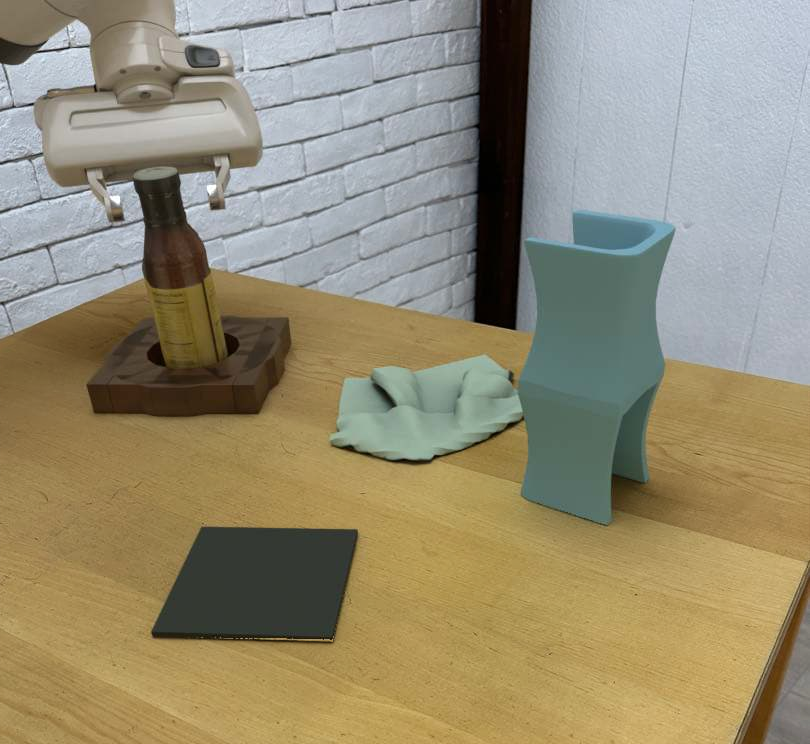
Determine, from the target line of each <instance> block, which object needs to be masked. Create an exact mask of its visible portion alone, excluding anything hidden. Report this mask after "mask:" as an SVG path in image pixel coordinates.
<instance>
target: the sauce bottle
mask: <svg viewBox="0 0 810 744" xmlns="http://www.w3.org/2000/svg"><path fill="white" fill-rule="evenodd" d="M132 183H133V187H134V191H135V193H136V194H137V195H138V199H139V203H140V208H141V211H142V216H143V218H142V220H143V224H144V232H143V233H144V235H143V236H144V237H143V239H144V240H143V254H142V255H143V257H142V263H141V272H142V275H143V280H144V283H145V287H146V291H147V295H148V299H149V304H150V307H151V311H152V315H153V318H154V320H155V324H156V328H157V332H158V337H159V340H160V344H161V349H162V353H163V357H164V361H165V365H166V367H167V368H194V367H201V366H207V365H210V364H213V363H216V362H219V361H222V360H225V359H226V358H227V355H228V352H227V347H226V343H225V338H224V332H223V328H222V324H221V318H220V316H221V314H220V309H219V304H218V299H217V293H216V289H215V284H214V280H213V275H212V269H211V268H210V265H209V261H208V260H209V259H208V255H207V249H206V246H205V244H204V241H203V240H202V239H201V237H200V235H199V232H198V231H196V230H195V229H194V228H193V227H192V226H191V224H190V223H189V222H188V218H187V212H186V210H185V207H184V201H183V198H182V193H181V186H182V180H181V177H180V175H179V172H178V170H177V169H176V168H173V167H162V166H161V167H153V168H147V169H143V170H140V171H137V172H136V173H135V174H134V175H133V180H132Z"/></svg>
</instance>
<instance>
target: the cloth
mask: <svg viewBox="0 0 810 744" xmlns="http://www.w3.org/2000/svg"><path fill="white" fill-rule="evenodd" d="M514 378H515V372H513V371H512V370H510V369H505V368H503V367H502V366H500V365H499V364H498V363H497V362H496V361H494V360H493V359H492V358H491V357H490V356H488V355H487V354H482V355H478V356H472V357H469V358H464V359H461V360H457V361H453V362H448V363H444V364H440V365H436V366H433V367H428V368H424V369H420V370H415V371H411V370H410V369H409V368H407V367H399V366H391V365H389V366H387V365H386V366H381V367H374V368H372V369H371V374H370V377H345V378H344V381H343V385H342V389H341V392H340V393H341V395H340V399H339V406H338V416H337V419H336V423H335V424H336V427H337V429H338V432H334V433H331V434H330V438H329V442H330V443H331V445H332V446H334V447H337V448H340V449H341V448H343V449H350V450H352V451H354V452H358V453H361V454H366V453H368V454H370V455H371V456H373V457H377V458H380V459H383V460H385V461H398V460H402V459H404V460H405V459H406V460H410V461H414V462H426V461H427V462H430V461H431V460H432V459H433V457H434V456H445V455H448V454H450V453H454V452H457V451H461V450H464V449H467V448H469V447H471V446H473V445H475V443H477V442H478V443H479V442H482V441H485V440H487V439H488V438H490V436H491V435H493V434H495V433H499V432H502V431H504V430H505V429H507V427H508V426H509V425H511V424H514V423H516V422H520V421H521V420H522V419H524V415H523V411H522V407H521V403H520V400H519V396H518V388H517V389H516V388H515V386H514V385H513V384H512V382H511V381H513V379H514Z"/></svg>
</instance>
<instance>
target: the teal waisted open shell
mask: <svg viewBox="0 0 810 744" xmlns="http://www.w3.org/2000/svg"><path fill="white" fill-rule="evenodd" d="M571 216H572V217H571V218H572V220H571V221H572V222H571V223H572V234H573V235H572V236H573V243H568V242H562V241H557V240H549V239H545V238H544V239H543V238H537V237H532V236H529V237H528V238H526V239H524V240H523V243H524V247H525V252H526V255H527V259H528V262H529V265H530V270H531V274H532V278H533V285H534V290H535V296H536V297H535V298H536V313H537V314H536V322H535V329H534V334H533V337H532V338H533V339H532V342H531V346H530V348H529V349H530V350H529V352H528V355H527V357H526V361H525V363H524V365H523V368H522V370H521V373H520V375H519V378H518V380H517V390H518V396H519V400H520V403H521V407H522V411H523V415H524V416H523V419H524V423H525V429H526V437H527V438H526V439H527V461H526V467H525V473H524V477H523V479H522V484H521V489H520V494H521V496H522V497H523V498H524V499H526V500H528V501H530V502H533V503H535V504H538V503H539V504H538V505H541V504H542V505H541V506H544V507H547V506H548V508H550V507H551V509H554V510H556V509H557V511H560V510H561V511H560V512H563V511H564V512H563V513H566V512H568V513H567V514H569V513H571V514H570V515H571V516H572V515H573V516H575V515H576V516H575V517H578V516H579V517H578V518H581V517H582V519H584V518H586V519H585V520H587V519H589V520H588V521H591V520H593V521H594V522H593V521H591V522H593V523H596V522H597V524H600V523H601V524H600V525H603V524H605V525H604V526H606V525H607V526H608V525H609V524H610V523H611V522H612V518H613V517H612V475H616V476H620V477H623V478H627V479H630V480H633V481H635V482H639V483H643V484H646V483H647V482H648V481H649V479H650V472H649V466H648V459H647V448H646V446H647V445H646V439H647V428H648V424H649V419H650V415H651V411H652V408H653V405H654V402H655V399H656V396H657V393H658V391H659V389H660V386H661V383H662V381H663V378H664V376H665V367H666V361H665V358H664V353H663V349H662V346H661V342H660V336H659V331H658V324H657V296H658V291H659V286H660V282H661V278H662V273H663V270H664V266H665V264H666V261H667V257H668V253H669V251H670V249H671V245H672V243H673V240H674V236H675V234H676V229H677V228H676V227H675V225H673V224H672V223H670V222H666V221H661V220H655V219H650V218H649V219H648V218H642V217H634V216H628V215H621V214H614V213H607V212H599V211H591V210H586V209H579V208H578V209H577V210H574V211H573V212H572V215H571Z"/></svg>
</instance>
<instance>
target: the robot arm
mask: <svg viewBox="0 0 810 744" xmlns="http://www.w3.org/2000/svg"><path fill="white" fill-rule="evenodd" d="M76 21H78V22H80V23H82V24H83V25H84V26H85V27H86V28H87V29H88V31H89V33H90V40H89V56H90V62H91V67H92V72H93V77H94V84H88V85H78V86H74V87H68V88H61V87H57V88H56V87H55V88H50V89H48V90H46V93H44V94H42V95H40V96H39V97H38V98H37V99H36V100H35V101H34V103H33V116H34V121H35V122H34V123H35V125H36V126H37V128H38V130H39V131H40V132H41V146H42V147H41V148H42V156H43V162H44V165H45V168H46V171H47V174H48V175H49V178H50V179H51V181H53V182H54V183H55V184H57V185H58V186H59V187H61V188H71V187H80V186H89V188H90V190H91V193H92V195H93V196H94V197H95V198H96V199H97V200H98V201H99V202H100V203H101V204H102V206H104V208H105V213H106V216H107V217H106V218H107V220H108V223H119V222H125V221H126V218H125V213H124V212H125V211H124V206H123V203H122V199H121V196H120V195H111V194H110V193H109V192H108V189H107V187H108V186H107V184H109V183H116V182H126V181H133V175H134V174H135V173H136V172H137V171H140V170H143V169H147V168H153V167H161V166H162V167H173V168H176V169H177V170H178V172H179V176H182V175H190V174H198V173H200V174H201V173H207V172H209V173H210V172H214V174H215V178H216V180H215V182H214V184H210V185H209V184H208V185H206V186H205V187H206V194H207V201H208V204H209V206H208V207H209V210H210V211H221V210H227V209H226V200H225V199H226V198H225V192H226V190H227V188H228V185H229V182H230V181H231V170H236V169H245V168H253V167H257V166H258V164H259V163H260V161H261V160H262V158H263V155H264V146H263V145H264V144H263V142H264V141H263V136H262V131H261V127H260V123H259V119H258V117H257V113H256V110H255V108H254V104H253V102H252V99H251V97H250V95H249V94H250V93H249V92H248V90H247V89H246V87H245V85H244V84H243V83H242V82H241V81H240V80H238V78H236V71H235V66H234V62H233V59H232V56H231V53H230V52H229V51H228V50H225V49H223V48H219V47H214V46H209V45H204V44H200V43H199V44H198V43H195V42H191V41H187V40H183V39H181V38H180V36H179V34H178V32H177V31H176V30H177V29H176V21H177V12H176V5H175V0H0V64H2V65H7V66H20V65H22V64H24V63H25V62H27V61H28V60H29V59H30V58H31V57H33V55H35V54H36V53H37V52H38V51H39V50H40V49H41V48H42V47H43V46H45V44H46V43H48V41H50V39H51V38H52V37H54V36H55V35H57V34H58V33H59V32H61V31H62V30H65V28H67V26H70V25H71V24H73V23H74V22H76Z"/></svg>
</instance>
